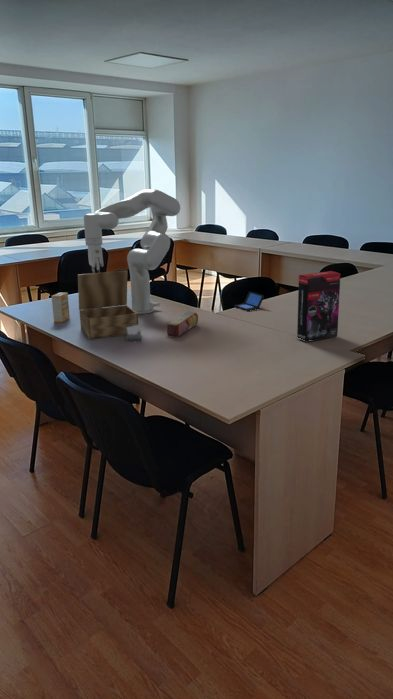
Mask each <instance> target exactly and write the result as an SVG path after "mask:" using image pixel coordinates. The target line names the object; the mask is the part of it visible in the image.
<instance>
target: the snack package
mask: <svg viewBox="0 0 393 699" xmlns="http://www.w3.org/2000/svg"><path fill="white" fill-rule="evenodd" d="M198 322H199V315H198V313H197V312H195V311H191V310H189V311H186V312H184V313H183V314H181V315H180V316H179V317H177V318H176V319H174V320H173V321H172V322H170V323H168V324H167V325H166V333H167V334H166V335H167V336H168V337H169V336H171V337H170V338H178V337H180V336H181V335H183V334H184V333H186V332H188V331H189V330H190V329H191V328H193V327H195V326H197V324H198Z"/></svg>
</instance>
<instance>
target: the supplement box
mask: <svg viewBox="0 0 393 699" xmlns="http://www.w3.org/2000/svg"><path fill="white" fill-rule="evenodd" d="M68 294H69V292H57V293H55V294H52V295H51V304H52V305H51V306H52V314H53V323H65V322H67V320H70V318H71V317H70V304H69V303H70V302H69V295H68Z"/></svg>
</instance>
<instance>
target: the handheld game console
mask: <svg viewBox="0 0 393 699" xmlns="http://www.w3.org/2000/svg"><path fill="white" fill-rule="evenodd" d="M264 299H265V294H260V293H258V292H254V291H248V293H247V295H246V298H245V299H244V301H243V303H240V304H239V303H238V304H235V305H233V307H234V308H236V309H238V308H241V309H243V310H242V311H244V310H247V311H246V312H248V311H249V312H251V311H250V310H255V309H259V310H260V307H261V304H262V302H263V300H264ZM241 309H240V310H241ZM255 311H256V310H255Z"/></svg>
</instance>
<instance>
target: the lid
mask: <svg viewBox="0 0 393 699" xmlns="http://www.w3.org/2000/svg"><path fill="white" fill-rule="evenodd" d="M128 274H129V272H128V270H127V269H126V270H117V271H116V270H115V271H105V272H103V271H102V272H101V271H100V273H92V272H91V273H89V272H88V273H81V274H79V273H78V274H77V288H78V289H77V292H78V310H79V311H80V310H89V309H94V308H107V307H116V306H125V305H127V306H128Z"/></svg>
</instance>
